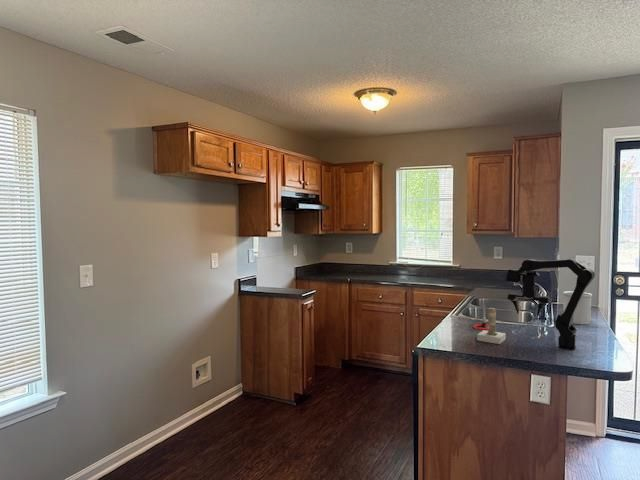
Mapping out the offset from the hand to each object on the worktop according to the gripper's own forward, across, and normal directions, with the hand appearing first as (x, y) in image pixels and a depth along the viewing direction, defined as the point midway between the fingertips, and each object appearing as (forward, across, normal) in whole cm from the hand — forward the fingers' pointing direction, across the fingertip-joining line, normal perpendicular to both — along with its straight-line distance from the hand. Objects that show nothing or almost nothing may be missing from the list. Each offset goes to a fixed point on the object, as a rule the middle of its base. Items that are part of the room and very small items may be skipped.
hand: (527, 314), depth 219 cm
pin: (+13, +15, +10) cm, 22 cm away
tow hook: (+13, +26, -12) cm, 32 cm away
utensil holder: (+13, -16, -61) cm, 64 cm away
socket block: (+13, +15, +10) cm, 22 cm away
